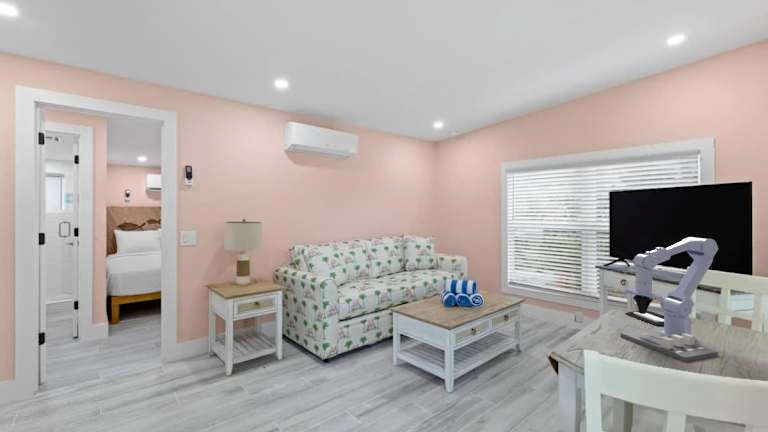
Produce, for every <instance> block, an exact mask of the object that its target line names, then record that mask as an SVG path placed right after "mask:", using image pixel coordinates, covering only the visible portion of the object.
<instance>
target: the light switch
mask: <svg viewBox="0 0 768 432" xmlns="http://www.w3.org/2000/svg"><path fill="white" fill-rule="evenodd" d="M625 315H626V316H628V315H629V317H631V318H633V317H634V318H633V319H635V318H636V319H635V320H638V321H640V320H641V322H643V321H644V322H643V323H646V324H648V323H649V325H651V324H652V326H655V327H661V328H664V315H663V314H660V313H656V312H654V311H650V310H647V311H646V314H641V313H639V310H633V311H628V312H626V313H625Z"/></svg>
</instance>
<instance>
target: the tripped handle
mask: <svg viewBox="0 0 768 432" xmlns="http://www.w3.org/2000/svg"><path fill="white" fill-rule="evenodd" d="M671 339H674V344H673V345H675V346H678V347H684V342H685V337H682V336H679V335H676V334H675V335H671Z"/></svg>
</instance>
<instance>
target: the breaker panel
mask: <svg viewBox="0 0 768 432" xmlns="http://www.w3.org/2000/svg"><path fill="white" fill-rule="evenodd" d="M659 331H660V330H656V329H652V328H649V329H641V330H635V331H634V330H633V331H626V332H621V333H620V337H621V338H623V339H625V340H629V341H631V342H634V343H636V344H638V345H641V346H644V347H647V348H649V349H652V350H653V351H654V350H655V351H656V352H660V353H662V354H664V355H667V356H670V357H673V358H675V359H677V360H679V361H682V362H689V361H690V362H691V361H695V360H701V359H706V358H707V359H708V358H711V357H717V356H718V355H719V351H717V350H715V349H712V348H709V347H707V346H706V347H705V346H703V345H700V344H697V343H696V336H695V335H693V334H691V335H690V334H687V333H685V334H682V337H685V342H684V347H678V346H675V345H673V344H674V339H671V335H668V334H665V333H662V332H659Z"/></svg>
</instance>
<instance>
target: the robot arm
mask: <svg viewBox="0 0 768 432" xmlns="http://www.w3.org/2000/svg"><path fill="white" fill-rule="evenodd" d="M718 250H719V246H718V245H717V242H716V241H715V239H713V238H702V237H694V236H688V237H685V238H683V239H682V240H681V241H678V242H676V243H674V244H672V245H670V246H668V247H666V248H665V247H660V246H658V247H655V249H652V250H650V251H645V253H638V254H636V255H635V256H634V258H633V259H632V264H633V265H634V269H635V284H634V285H635V286H634V289H633V288H629V287H627V288H624V290H625V291H624V292H625V293H626V294H631V295H635V296H633V298H632V299H633V300H634V302H635V303H636V305H637V309H638V311H639V313H641V314H646V311H648V308H649V306H650V304H651V303H652V302H653V300H655V301H657V302H660V303H659V305H660V309H662V310H663V311H662V312H663V313H664V315H663V316H664V327H663V330H658V331H659V332H662V333H665V334H668V335H675V334H676V335H679V336H682V334H685V333H687V334H690V335H692V319H691V317H690V315H691V313H692V312H693V307H694V304H695V302H694V301H693V299H692V296H693V294H694V293H695V291H696V290H697V288H698V286H699V284H700V283H701V282H702V280H703V278H704V277H705V275H706V273H707V271H708V270H709V269H710V266H711V265H712V263H713V261H714V257H715V255H716V253H717V252H718ZM682 252H687V254H689V256H690V257H691V258H692V259H693V262H692V263H691V264H690V266H689V267H688V269H687V271H686V272H685V274H684V275H683V277H682V279H681V280H680V282H679V284H678V285H677V287H676V289H675V290H673V291H670V292H668V293H667V294H666V296H663V295H659V294H656V293H653V292H652V291H653V271H654V269H655V268H656V267H657V266H658V264H661V263H663V262H664V263H665V262H666V261H669V260H671V256H674V255H677V254H679V253H682Z"/></svg>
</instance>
